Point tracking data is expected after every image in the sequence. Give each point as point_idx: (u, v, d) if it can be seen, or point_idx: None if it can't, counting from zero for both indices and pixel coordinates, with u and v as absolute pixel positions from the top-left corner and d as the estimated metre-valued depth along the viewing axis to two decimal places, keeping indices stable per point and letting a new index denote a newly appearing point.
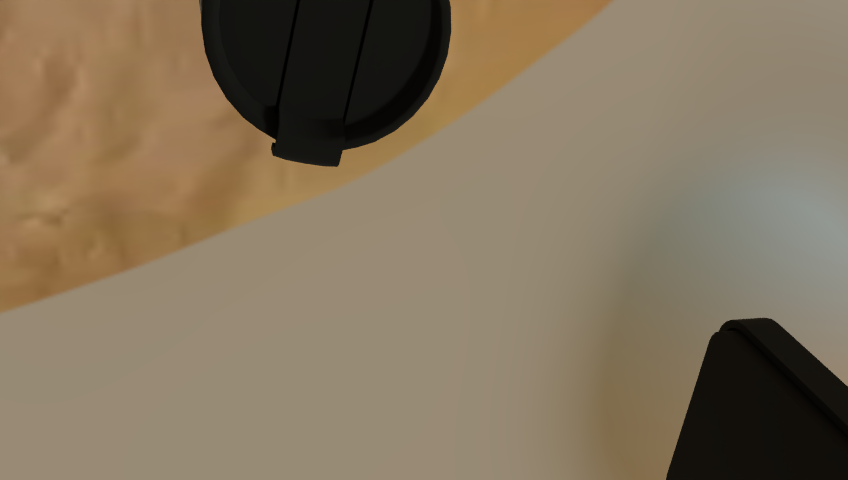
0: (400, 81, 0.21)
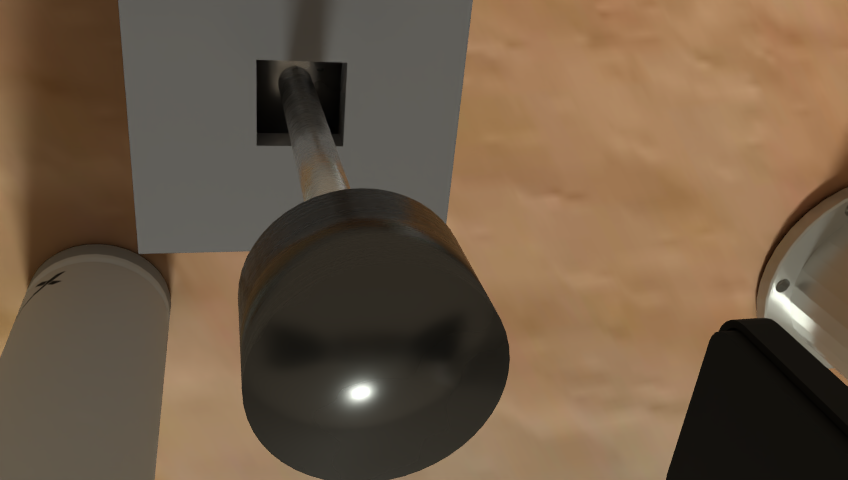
0: None
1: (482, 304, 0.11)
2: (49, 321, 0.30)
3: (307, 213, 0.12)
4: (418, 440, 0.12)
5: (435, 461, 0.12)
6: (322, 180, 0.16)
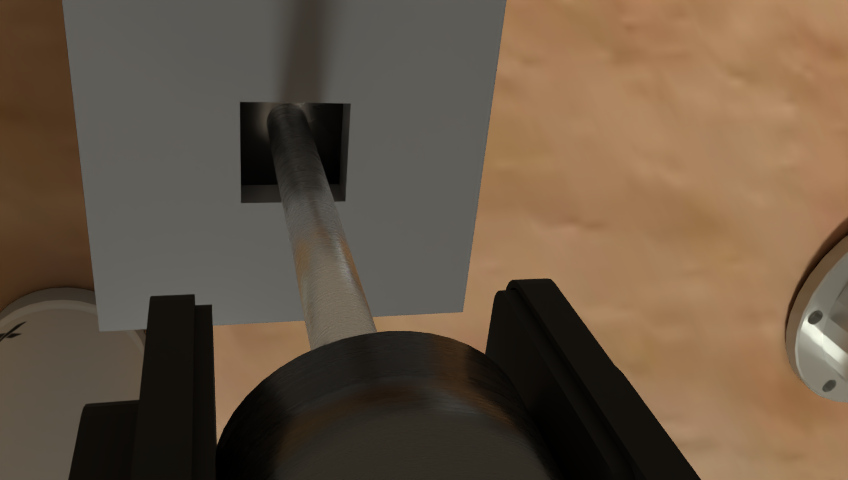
0: None
1: None
2: (5, 385, 0.26)
3: (310, 376, 0.08)
4: None
5: None
6: (325, 276, 0.12)
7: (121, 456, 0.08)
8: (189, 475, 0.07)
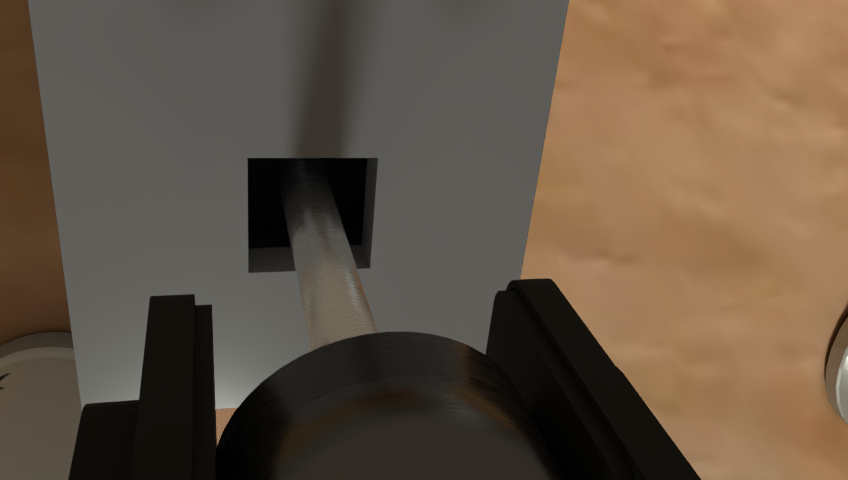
0: None
1: None
2: None
3: (311, 377, 0.08)
4: None
5: None
6: (325, 277, 0.12)
7: (122, 457, 0.08)
8: (189, 475, 0.07)
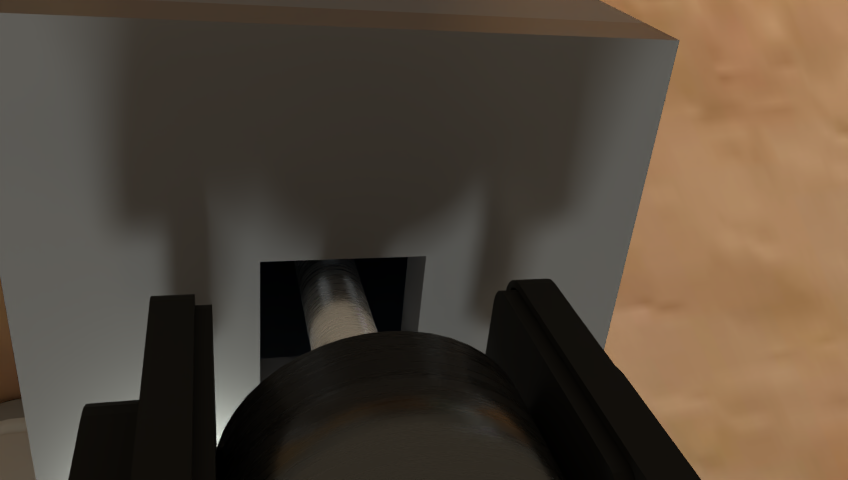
0: None
1: None
2: None
3: (311, 376, 0.08)
4: None
5: None
6: (325, 276, 0.12)
7: (121, 457, 0.08)
8: (189, 475, 0.07)
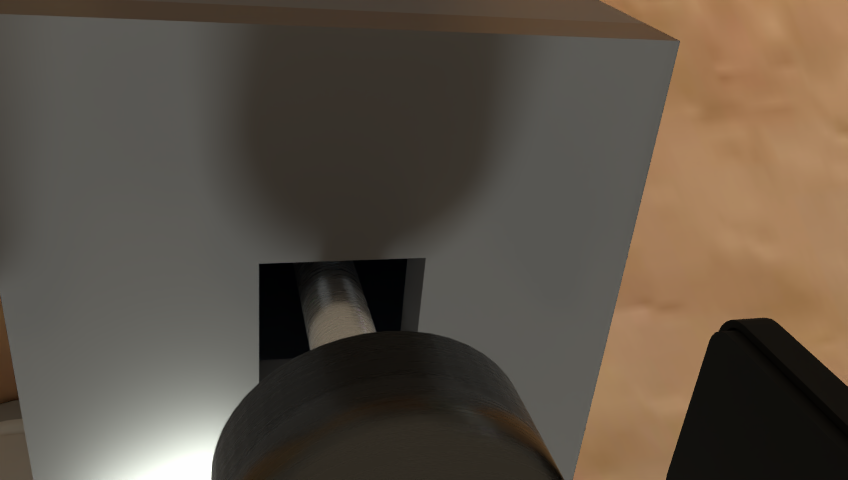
0: None
1: None
2: None
3: (309, 376, 0.08)
4: None
5: None
6: (324, 276, 0.12)
7: None
8: None
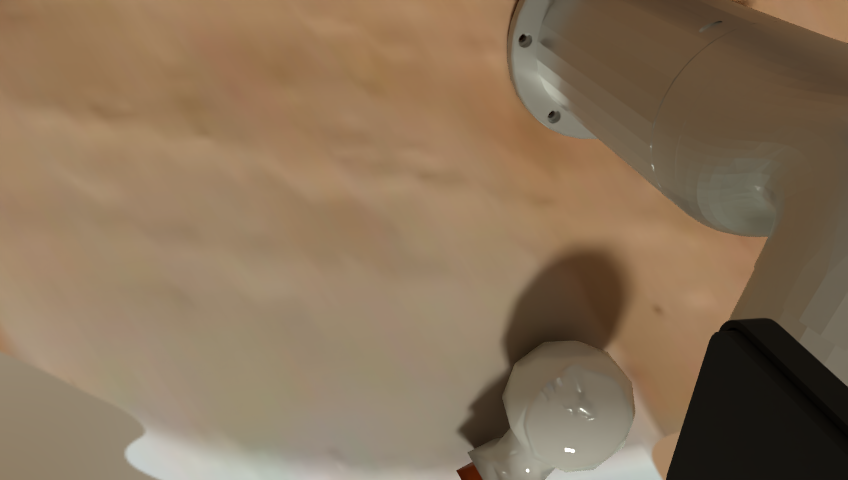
0: None
1: None
2: None
3: None
4: None
5: None
6: None
7: None
8: None
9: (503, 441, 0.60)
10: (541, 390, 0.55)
